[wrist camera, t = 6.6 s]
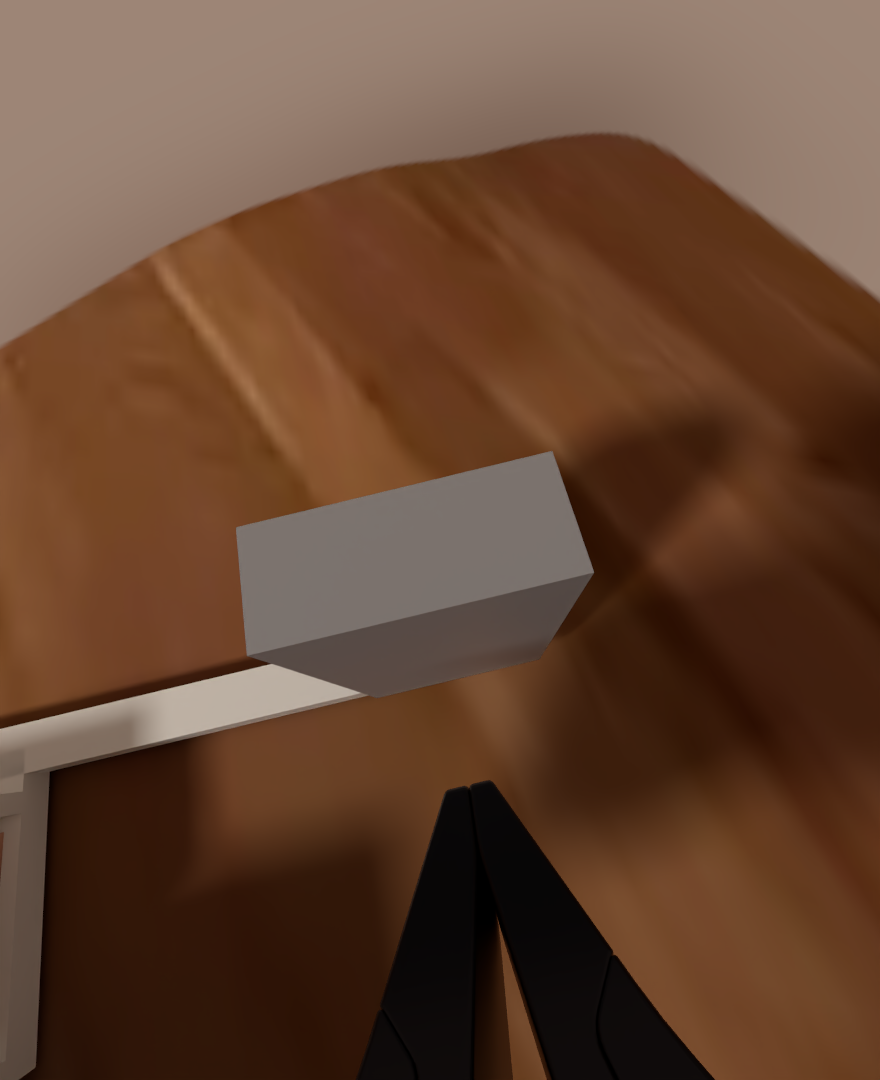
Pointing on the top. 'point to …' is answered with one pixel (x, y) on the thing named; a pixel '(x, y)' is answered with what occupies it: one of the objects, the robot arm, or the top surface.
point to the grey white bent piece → (314, 652)
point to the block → (1, 849)
